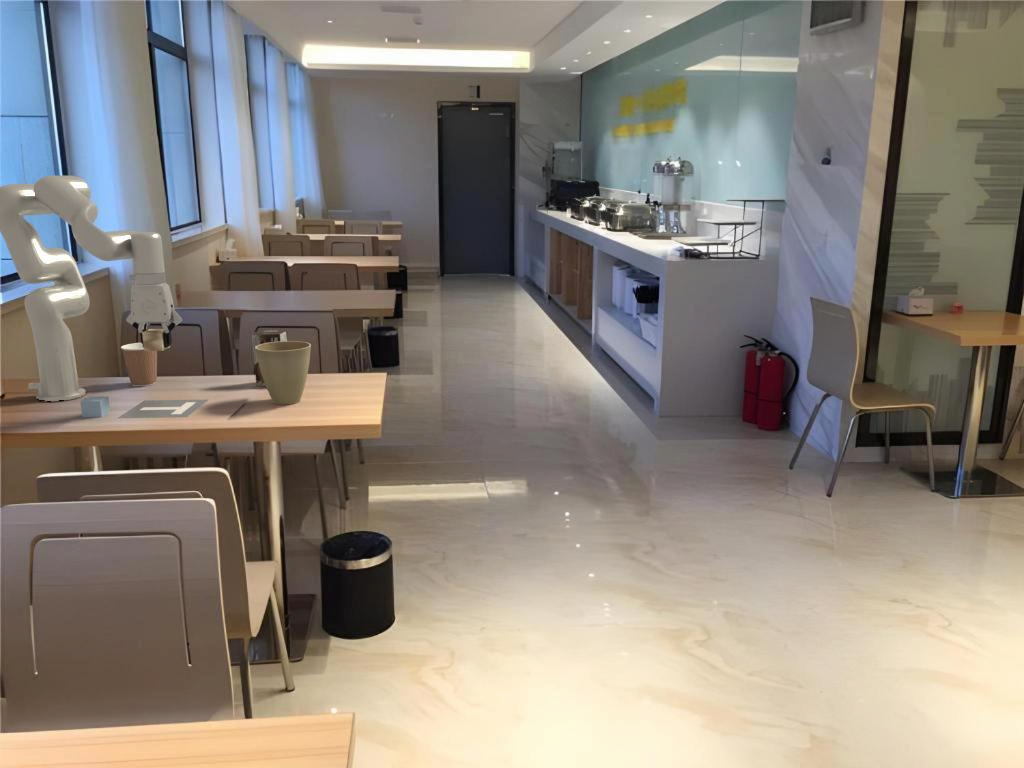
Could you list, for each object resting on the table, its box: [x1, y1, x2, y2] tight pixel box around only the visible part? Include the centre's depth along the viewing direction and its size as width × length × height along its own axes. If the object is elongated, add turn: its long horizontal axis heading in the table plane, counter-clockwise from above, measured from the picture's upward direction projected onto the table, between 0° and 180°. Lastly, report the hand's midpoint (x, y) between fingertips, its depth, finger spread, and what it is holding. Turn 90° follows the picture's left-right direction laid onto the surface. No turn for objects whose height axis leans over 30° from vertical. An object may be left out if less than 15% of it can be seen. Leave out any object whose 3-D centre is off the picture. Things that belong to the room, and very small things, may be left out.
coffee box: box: [251, 329, 289, 387], centre depth 252 cm, size 9×6×16 cm
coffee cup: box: [120, 342, 158, 387], centre depth 253 cm, size 10×10×12 cm
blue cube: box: [80, 395, 111, 418], centre depth 219 cm, size 5×5×5 cm
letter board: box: [117, 399, 210, 419], centre depth 225 cm, size 18×18×1 cm
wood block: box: [142, 328, 171, 352], centre depth 225 cm, size 5×5×5 cm
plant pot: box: [255, 340, 312, 406], centre depth 232 cm, size 15×15×16 cm
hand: (157, 346), depth 225 cm, fingers closed on wood block, 4 cm apart
